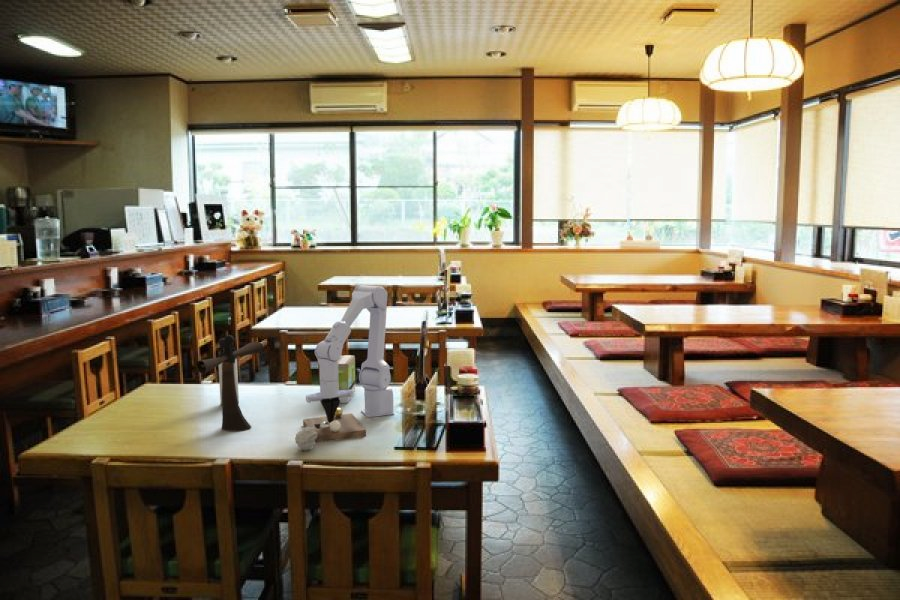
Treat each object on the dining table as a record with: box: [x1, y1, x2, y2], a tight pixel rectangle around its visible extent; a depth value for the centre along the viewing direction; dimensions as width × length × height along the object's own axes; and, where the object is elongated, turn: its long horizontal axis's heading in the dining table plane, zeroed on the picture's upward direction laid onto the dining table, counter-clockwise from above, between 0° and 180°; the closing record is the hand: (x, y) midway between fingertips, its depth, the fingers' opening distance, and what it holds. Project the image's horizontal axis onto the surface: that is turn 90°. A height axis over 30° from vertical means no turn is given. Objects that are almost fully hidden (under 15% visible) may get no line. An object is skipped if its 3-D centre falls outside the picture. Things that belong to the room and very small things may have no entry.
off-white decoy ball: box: [330, 420, 341, 432], centre depth 201 cm, size 3×3×3 cm
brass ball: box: [335, 407, 344, 417], centre depth 215 cm, size 3×3×3 cm
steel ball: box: [320, 422, 330, 428], centre depth 207 cm, size 3×3×3 cm
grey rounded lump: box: [294, 427, 318, 452], centre depth 191 cm, size 6×7×7 cm
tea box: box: [338, 354, 356, 404], centre depth 244 cm, size 15×10×15 cm
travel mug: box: [217, 347, 240, 407], centre depth 236 cm, size 6×7×20 cm
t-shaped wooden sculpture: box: [196, 334, 264, 432], centre depth 210 cm, size 32×10×30 cm, turn 165°
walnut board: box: [302, 412, 367, 444], centre depth 208 cm, size 16×18×2 cm
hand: (330, 421), depth 208 cm, fingers closed
